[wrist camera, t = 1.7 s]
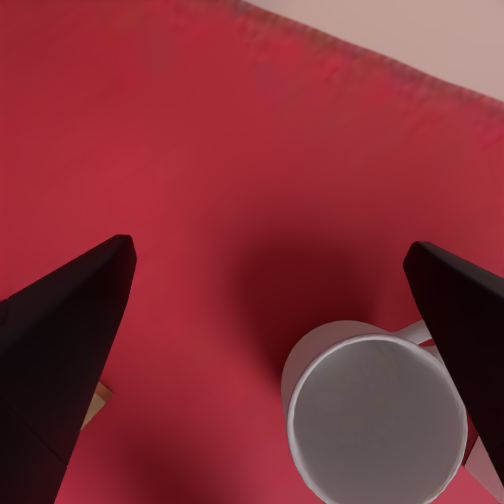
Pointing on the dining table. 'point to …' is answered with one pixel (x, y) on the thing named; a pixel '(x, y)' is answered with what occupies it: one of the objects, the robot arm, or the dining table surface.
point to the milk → (484, 470)
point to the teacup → (372, 414)
